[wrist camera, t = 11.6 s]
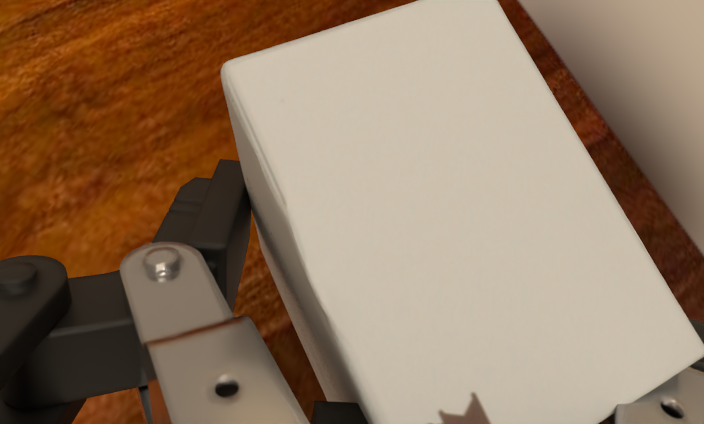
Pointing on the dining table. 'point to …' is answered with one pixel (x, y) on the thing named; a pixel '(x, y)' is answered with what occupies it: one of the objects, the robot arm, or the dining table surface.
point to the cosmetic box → (446, 226)
